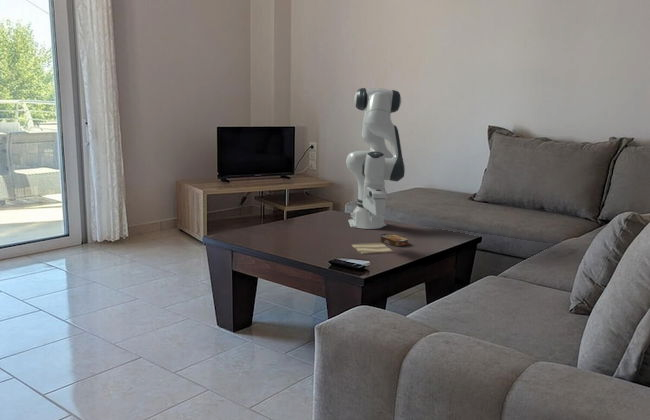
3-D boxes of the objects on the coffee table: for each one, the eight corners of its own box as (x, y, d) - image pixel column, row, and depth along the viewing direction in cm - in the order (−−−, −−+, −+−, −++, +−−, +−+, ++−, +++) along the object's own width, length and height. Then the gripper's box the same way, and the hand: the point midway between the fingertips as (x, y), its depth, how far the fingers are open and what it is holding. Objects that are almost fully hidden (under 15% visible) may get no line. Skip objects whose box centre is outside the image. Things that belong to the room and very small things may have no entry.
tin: (376, 234, 273) (390, 231, 277) (376, 241, 274) (390, 238, 278) (397, 241, 260) (411, 238, 265) (397, 248, 261) (412, 244, 265)
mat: (351, 245, 263) (351, 244, 263) (381, 244, 267) (381, 242, 267) (361, 254, 249) (361, 252, 249) (393, 252, 252) (393, 251, 252)
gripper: (359, 185, 261) (358, 216, 264) (374, 195, 241) (372, 227, 245) (373, 185, 262) (372, 215, 265) (388, 194, 243) (387, 227, 246)
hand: (372, 221), depth 255 cm, fingers closed
